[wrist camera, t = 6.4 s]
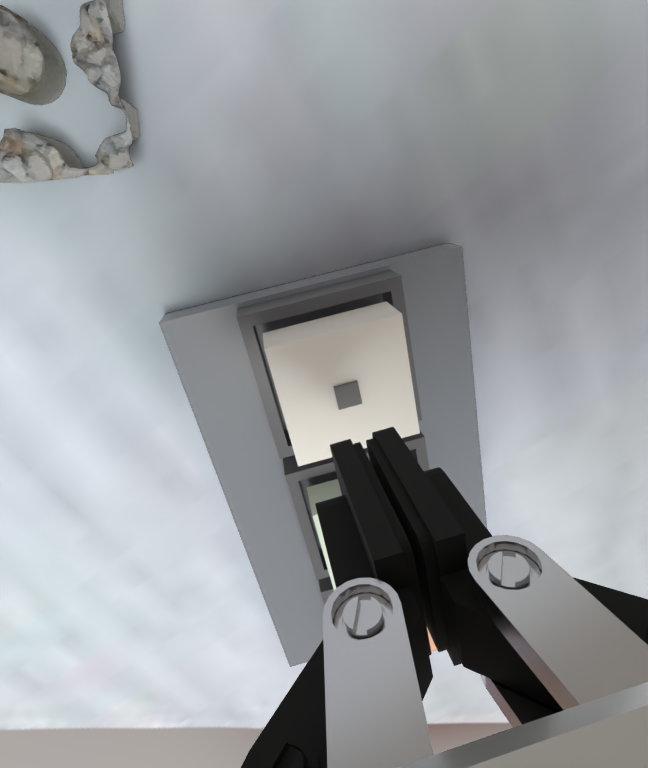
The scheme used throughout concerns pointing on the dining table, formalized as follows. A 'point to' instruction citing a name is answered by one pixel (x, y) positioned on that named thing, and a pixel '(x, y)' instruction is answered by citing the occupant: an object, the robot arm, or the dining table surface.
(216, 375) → the keypad board
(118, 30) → the egg carton
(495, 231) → the dining table surface
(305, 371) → the tile
